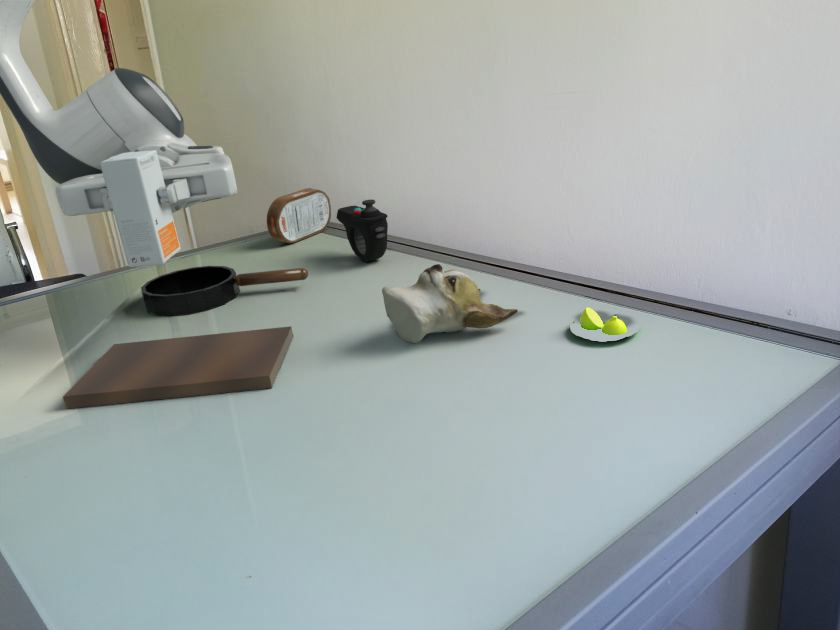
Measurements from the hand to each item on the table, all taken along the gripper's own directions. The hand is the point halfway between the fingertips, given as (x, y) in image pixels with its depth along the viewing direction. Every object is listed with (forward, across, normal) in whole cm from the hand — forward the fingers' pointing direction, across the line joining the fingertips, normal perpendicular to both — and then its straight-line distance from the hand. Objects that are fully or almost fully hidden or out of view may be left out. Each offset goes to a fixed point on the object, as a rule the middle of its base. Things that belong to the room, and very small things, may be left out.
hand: (139, 200), depth 81 cm
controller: (-28, +26, +19) cm, 43 cm away
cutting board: (+6, +2, +19) cm, 20 cm away
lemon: (+15, +49, +19) cm, 55 cm away
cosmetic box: (-1, 0, +7) cm, 7 cm away
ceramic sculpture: (+7, +32, +19) cm, 38 cm away
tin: (-48, +16, +19) cm, 54 cm away
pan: (-20, +4, +19) cm, 28 cm away
